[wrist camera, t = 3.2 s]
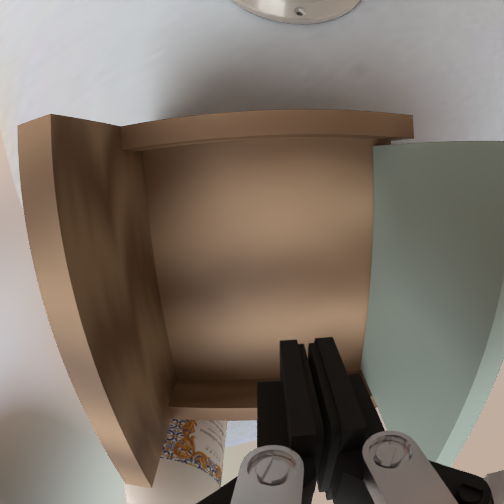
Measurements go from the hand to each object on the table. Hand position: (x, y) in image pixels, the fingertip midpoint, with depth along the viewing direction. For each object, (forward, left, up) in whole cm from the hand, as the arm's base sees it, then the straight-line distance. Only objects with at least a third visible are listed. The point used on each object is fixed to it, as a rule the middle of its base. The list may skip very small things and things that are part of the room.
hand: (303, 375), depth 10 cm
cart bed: (0, -1, -16) cm, 16 cm away
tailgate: (0, +7, -10) cm, 12 cm away
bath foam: (+14, -8, -16) cm, 23 cm away
